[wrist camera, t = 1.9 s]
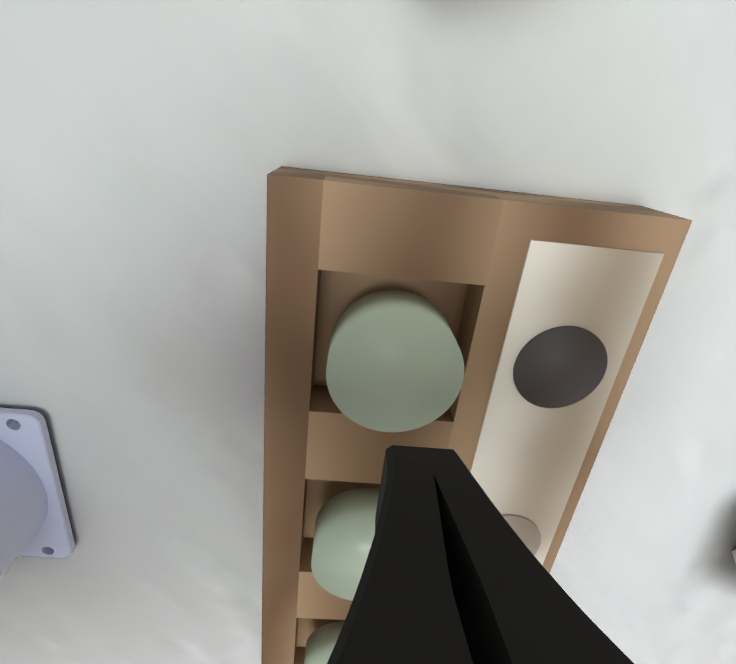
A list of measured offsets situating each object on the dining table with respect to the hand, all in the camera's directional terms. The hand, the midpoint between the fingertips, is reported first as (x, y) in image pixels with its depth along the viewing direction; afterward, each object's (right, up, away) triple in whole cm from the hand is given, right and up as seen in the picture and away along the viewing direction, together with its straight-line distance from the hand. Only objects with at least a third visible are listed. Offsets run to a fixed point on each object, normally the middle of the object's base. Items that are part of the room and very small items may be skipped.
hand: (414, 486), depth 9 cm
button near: (0, +3, +6) cm, 6 cm away
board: (+1, -4, +11) cm, 12 cm away
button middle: (-1, -5, +9) cm, 10 cm away
